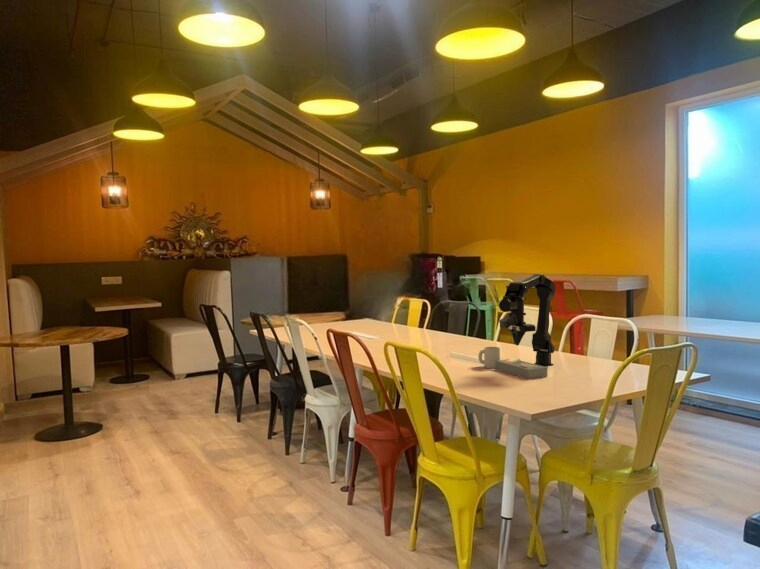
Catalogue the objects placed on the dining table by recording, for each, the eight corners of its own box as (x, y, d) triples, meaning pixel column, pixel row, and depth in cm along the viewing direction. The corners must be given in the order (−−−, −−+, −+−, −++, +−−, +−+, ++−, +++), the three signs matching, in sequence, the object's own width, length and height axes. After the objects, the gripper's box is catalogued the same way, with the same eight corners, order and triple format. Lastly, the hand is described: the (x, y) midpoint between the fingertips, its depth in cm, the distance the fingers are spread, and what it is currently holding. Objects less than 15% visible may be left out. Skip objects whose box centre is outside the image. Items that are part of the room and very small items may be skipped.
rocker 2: (531, 367, 249) (532, 364, 249) (537, 369, 245) (538, 366, 245) (521, 365, 246) (521, 362, 246) (527, 367, 242) (527, 364, 243)
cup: (499, 368, 261) (499, 349, 261) (478, 367, 264) (477, 348, 263) (500, 365, 268) (500, 346, 268) (478, 364, 271) (478, 346, 270)
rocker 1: (514, 359, 260) (514, 357, 259) (520, 361, 256) (519, 358, 256) (504, 364, 257) (503, 361, 257) (510, 365, 254) (509, 363, 253)
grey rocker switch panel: (513, 367, 264) (513, 358, 264) (547, 376, 243) (547, 367, 243) (495, 369, 260) (495, 360, 259) (528, 379, 239) (528, 369, 239)
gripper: (489, 309, 256) (489, 343, 256) (515, 313, 239) (515, 349, 239) (510, 308, 260) (510, 342, 261) (536, 311, 243) (536, 347, 244)
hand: (517, 345), depth 251 cm, fingers closed
